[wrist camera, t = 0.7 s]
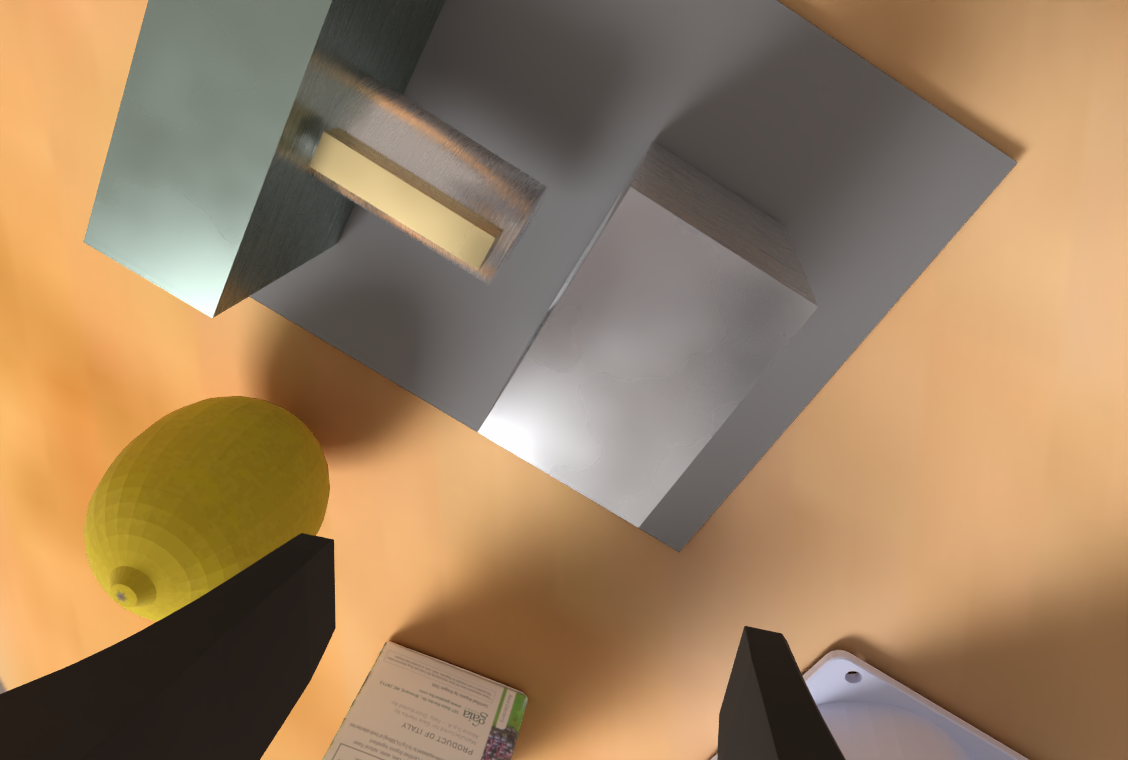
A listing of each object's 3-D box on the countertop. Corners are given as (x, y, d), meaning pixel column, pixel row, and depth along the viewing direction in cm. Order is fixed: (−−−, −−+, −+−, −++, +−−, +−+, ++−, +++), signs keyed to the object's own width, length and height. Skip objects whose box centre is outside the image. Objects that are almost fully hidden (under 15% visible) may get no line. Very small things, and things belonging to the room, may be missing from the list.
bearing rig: (624, 68, 19) (588, 87, 13) (477, 324, 22) (398, 427, 16) (318, -131, 18) (138, -204, 12) (217, 165, 22) (40, 216, 16)
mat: (1012, 160, 18) (1017, 162, 18) (679, 546, 24) (679, 552, 24) (347, -289, 17) (341, -294, 16) (172, 244, 23) (165, 246, 23)
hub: (787, 227, 19) (818, 307, 14) (655, 403, 22) (638, 527, 16) (651, 140, 19) (630, 186, 13) (534, 330, 21) (477, 432, 16)
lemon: (249, 321, 24) (50, 452, 16) (399, 425, 24) (270, 594, 17) (185, 441, 26) (-14, 601, 19) (323, 533, 27) (181, 721, 19)
